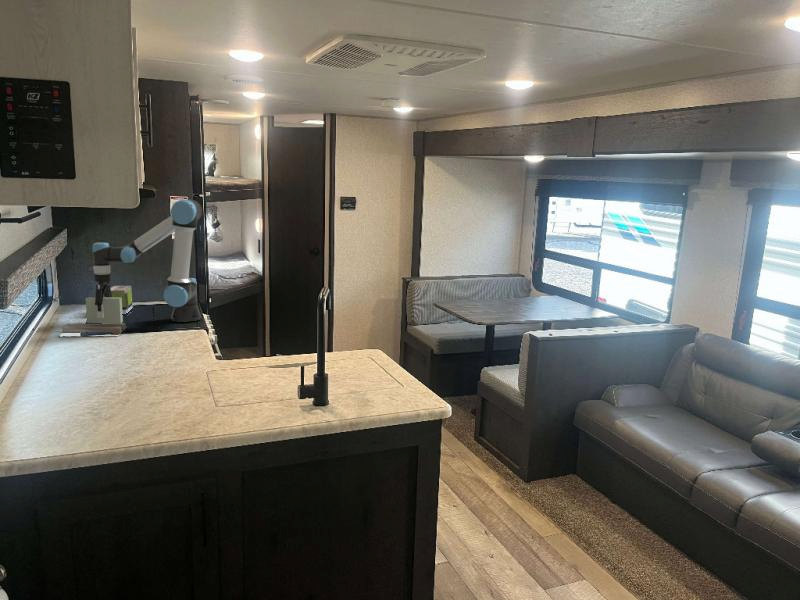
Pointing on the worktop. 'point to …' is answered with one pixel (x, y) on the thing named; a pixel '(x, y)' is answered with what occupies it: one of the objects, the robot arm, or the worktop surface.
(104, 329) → the walnut track
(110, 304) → the door panel
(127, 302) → the tea box
